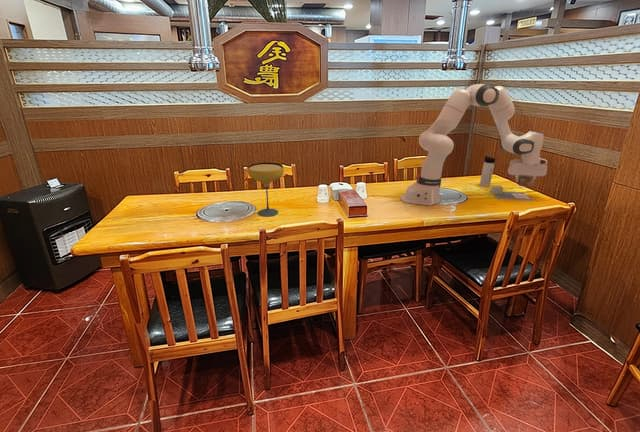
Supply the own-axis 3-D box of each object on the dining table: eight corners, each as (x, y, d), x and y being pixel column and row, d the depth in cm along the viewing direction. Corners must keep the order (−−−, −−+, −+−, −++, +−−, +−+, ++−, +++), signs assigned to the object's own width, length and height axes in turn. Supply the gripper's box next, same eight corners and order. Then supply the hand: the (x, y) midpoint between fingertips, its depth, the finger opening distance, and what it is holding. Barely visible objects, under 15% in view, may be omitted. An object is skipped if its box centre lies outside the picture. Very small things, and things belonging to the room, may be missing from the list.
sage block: (493, 193, 212) (494, 187, 210) (490, 191, 216) (492, 185, 215) (501, 194, 211) (503, 187, 210) (499, 191, 216) (500, 185, 214)
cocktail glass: (287, 206, 191) (285, 162, 181) (282, 219, 174) (280, 171, 165) (254, 206, 192) (251, 162, 182) (247, 219, 175) (243, 171, 165)
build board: (497, 200, 204) (497, 198, 203) (489, 192, 217) (489, 190, 217) (533, 202, 201) (533, 200, 201) (523, 194, 215) (523, 192, 214)
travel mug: (478, 184, 231) (484, 155, 224) (489, 185, 229) (495, 156, 222) (479, 187, 226) (484, 157, 218) (490, 188, 224) (496, 158, 216)
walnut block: (520, 186, 203) (521, 178, 201) (516, 183, 208) (517, 175, 207) (531, 186, 202) (532, 179, 200) (526, 183, 208) (528, 176, 206)
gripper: (512, 160, 198) (507, 183, 203) (550, 161, 195) (544, 184, 201) (508, 157, 204) (503, 180, 209) (545, 158, 201) (539, 181, 206)
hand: (524, 182), depth 205 cm, fingers closed on walnut block, 6 cm apart
